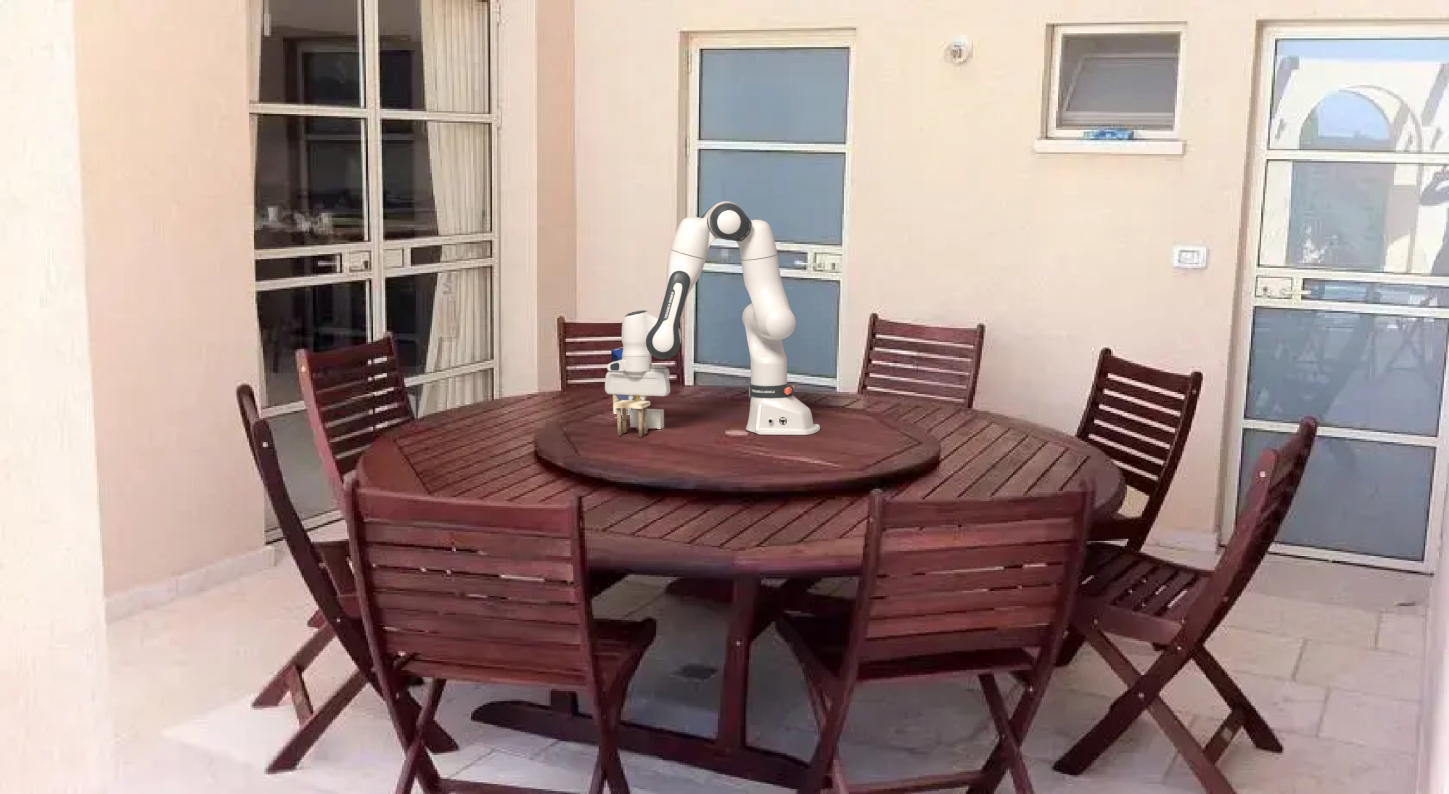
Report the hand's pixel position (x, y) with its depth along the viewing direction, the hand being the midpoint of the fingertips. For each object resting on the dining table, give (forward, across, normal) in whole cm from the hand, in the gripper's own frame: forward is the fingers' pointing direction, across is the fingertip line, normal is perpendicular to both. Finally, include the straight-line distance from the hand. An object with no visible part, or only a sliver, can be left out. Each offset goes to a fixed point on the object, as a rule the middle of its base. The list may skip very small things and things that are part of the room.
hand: (638, 409), depth 410 cm
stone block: (+7, 0, -7) cm, 10 cm away
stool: (+7, 0, +5) cm, 9 cm away
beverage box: (+7, +15, -29) cm, 33 cm away
